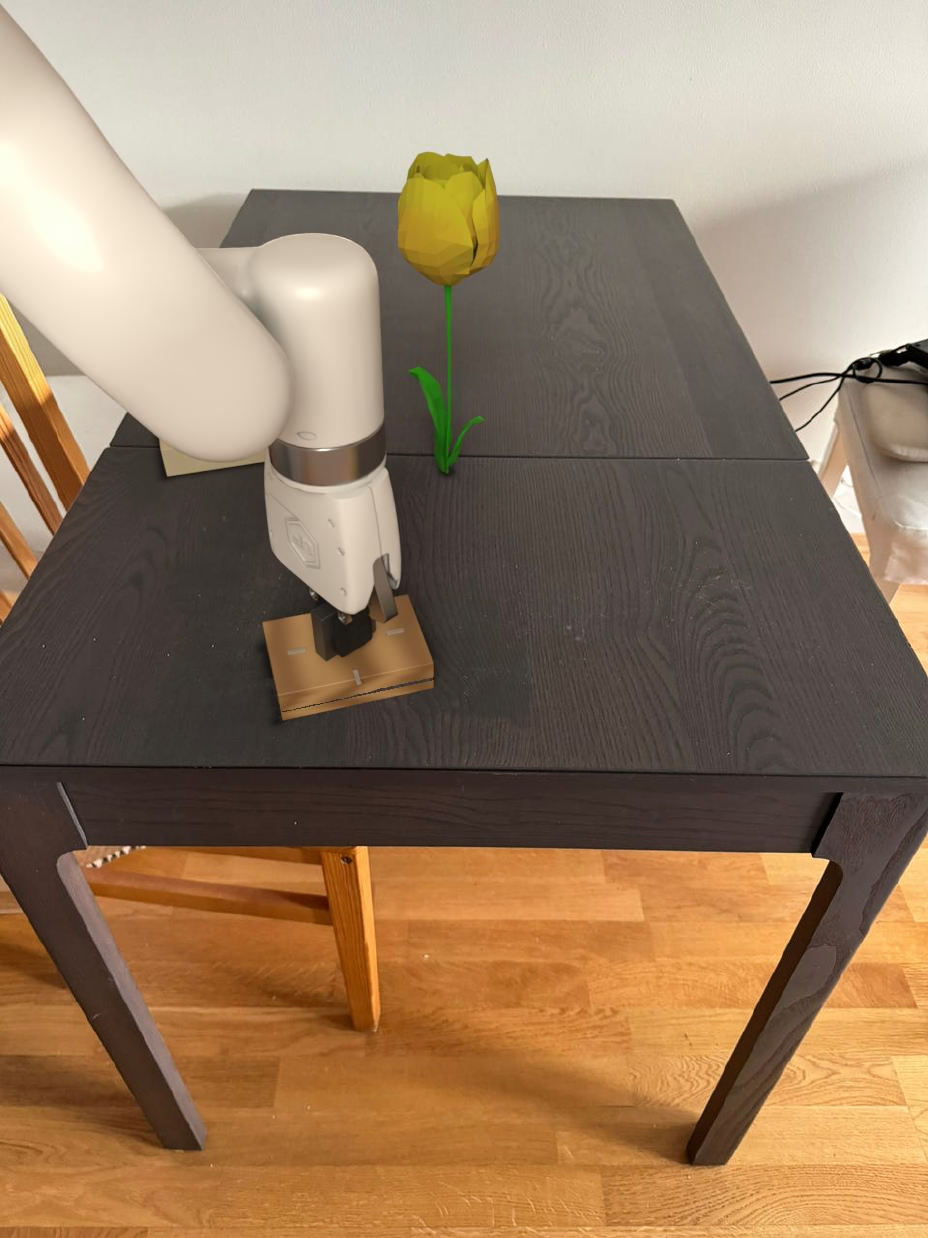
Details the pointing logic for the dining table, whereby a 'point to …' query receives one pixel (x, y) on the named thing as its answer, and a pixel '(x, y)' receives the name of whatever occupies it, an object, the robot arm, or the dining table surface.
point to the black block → (326, 630)
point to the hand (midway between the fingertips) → (345, 638)
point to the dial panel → (346, 664)
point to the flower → (447, 251)
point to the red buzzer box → (197, 461)
